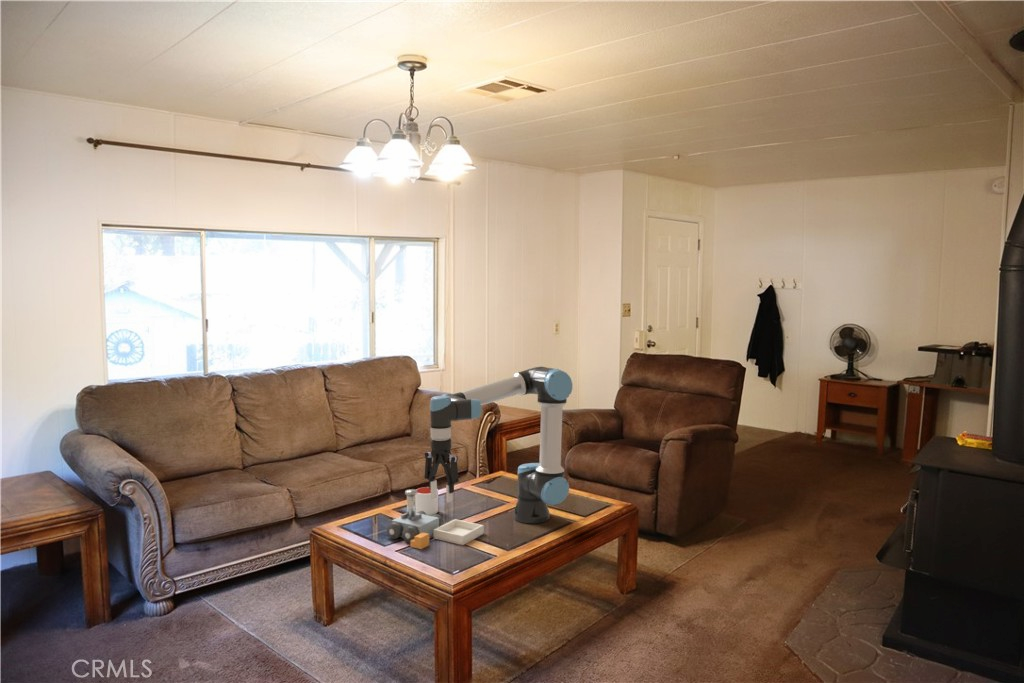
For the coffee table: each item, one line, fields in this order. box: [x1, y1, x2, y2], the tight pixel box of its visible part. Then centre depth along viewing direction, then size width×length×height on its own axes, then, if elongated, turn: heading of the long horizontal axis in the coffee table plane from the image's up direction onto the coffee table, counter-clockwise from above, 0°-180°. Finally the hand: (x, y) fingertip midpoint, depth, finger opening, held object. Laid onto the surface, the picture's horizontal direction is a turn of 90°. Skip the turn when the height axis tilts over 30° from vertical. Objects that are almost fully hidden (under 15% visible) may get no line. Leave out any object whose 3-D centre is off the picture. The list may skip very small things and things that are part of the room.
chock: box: [409, 532, 430, 550], centre depth 255 cm, size 5×5×4 cm
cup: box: [415, 486, 439, 516], centre depth 292 cm, size 10×10×10 cm
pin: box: [404, 488, 417, 520], centre depth 268 cm, size 5×5×11 cm
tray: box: [433, 518, 485, 546], centre depth 265 cm, size 14×14×3 cm
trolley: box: [386, 511, 445, 544], centre depth 267 cm, size 14×19×8 cm
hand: (441, 499), depth 250 cm, fingers open, 7 cm apart
